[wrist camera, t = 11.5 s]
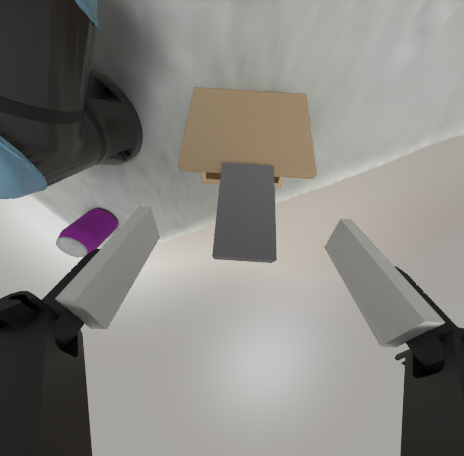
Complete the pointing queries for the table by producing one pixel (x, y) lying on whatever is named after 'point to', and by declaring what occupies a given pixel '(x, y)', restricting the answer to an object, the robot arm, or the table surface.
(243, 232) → the carton lid
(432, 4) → the table surface
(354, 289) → the robot arm
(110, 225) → the beverage can
